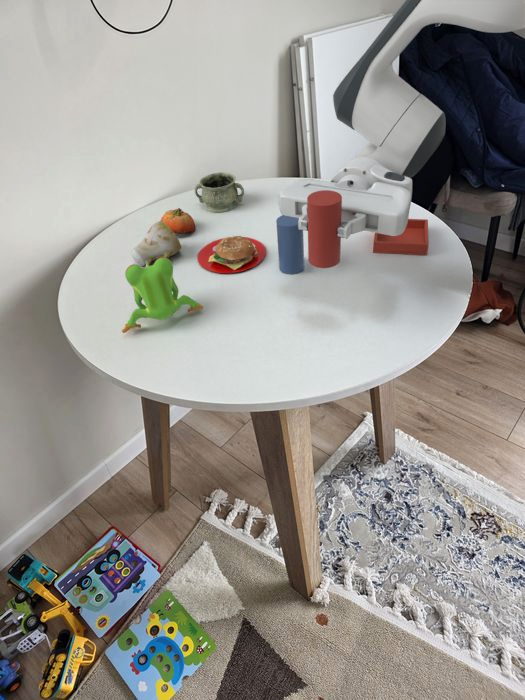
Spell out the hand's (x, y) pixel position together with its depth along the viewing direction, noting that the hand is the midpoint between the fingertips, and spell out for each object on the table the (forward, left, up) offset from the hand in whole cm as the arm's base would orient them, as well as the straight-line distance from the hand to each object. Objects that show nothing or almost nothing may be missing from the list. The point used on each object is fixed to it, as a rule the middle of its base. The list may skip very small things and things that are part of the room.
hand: (322, 229), depth 70 cm
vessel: (+30, -41, -17) cm, 53 cm away
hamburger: (+21, -19, -17) cm, 33 cm away
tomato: (+36, -28, -17) cm, 49 cm away
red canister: (0, -1, -5) cm, 6 cm away
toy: (+28, +2, -17) cm, 33 cm away
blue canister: (+8, -16, -17) cm, 24 cm away
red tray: (-12, -28, -17) cm, 35 cm away
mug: (+36, -16, -17) cm, 43 cm away
